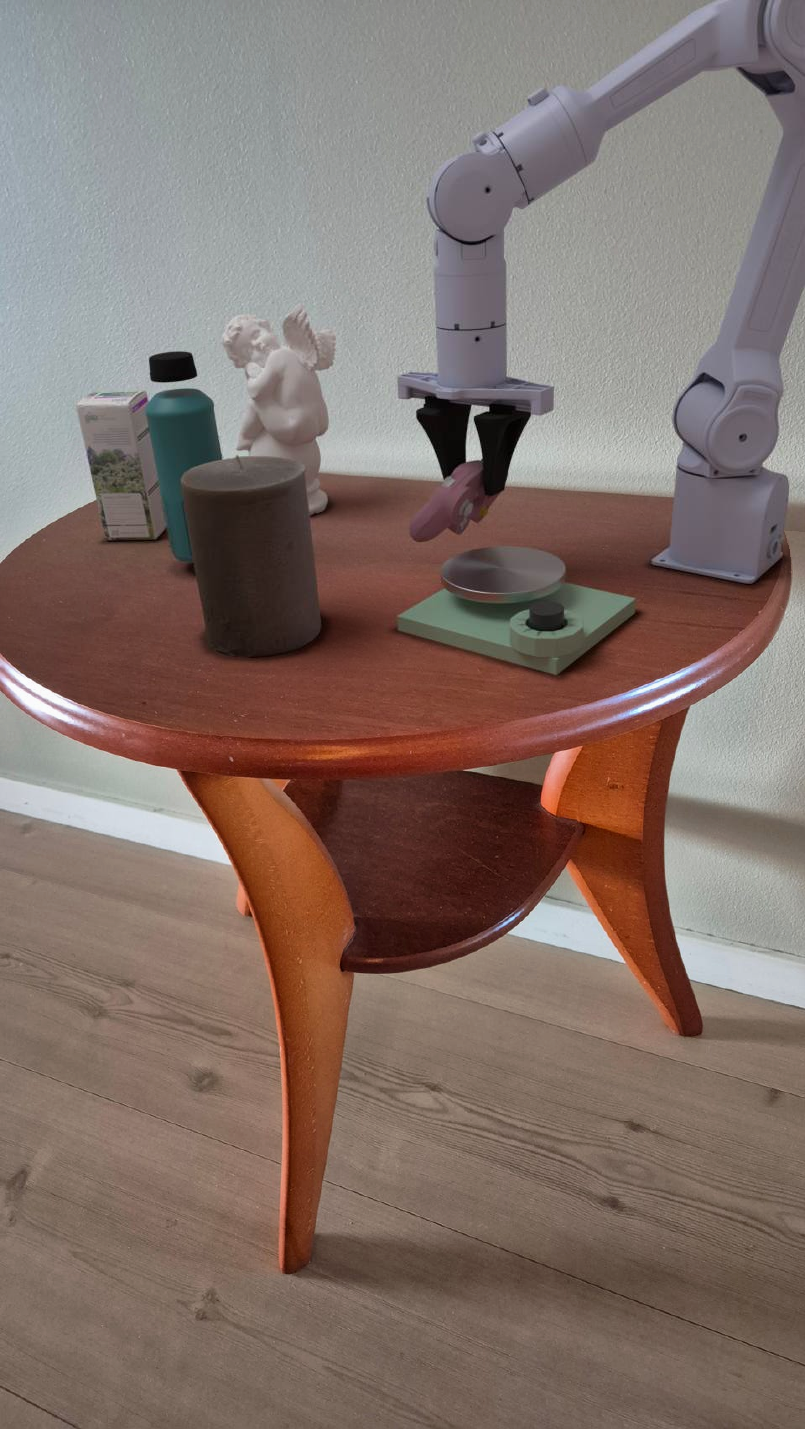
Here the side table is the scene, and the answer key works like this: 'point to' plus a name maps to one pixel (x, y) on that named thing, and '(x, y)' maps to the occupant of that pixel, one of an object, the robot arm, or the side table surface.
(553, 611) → the tare button
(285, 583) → the pillar candle
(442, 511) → the video game controller
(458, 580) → the scale pan
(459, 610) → the scale
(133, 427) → the syrup box
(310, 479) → the cherub figurine
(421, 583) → the side table surface
